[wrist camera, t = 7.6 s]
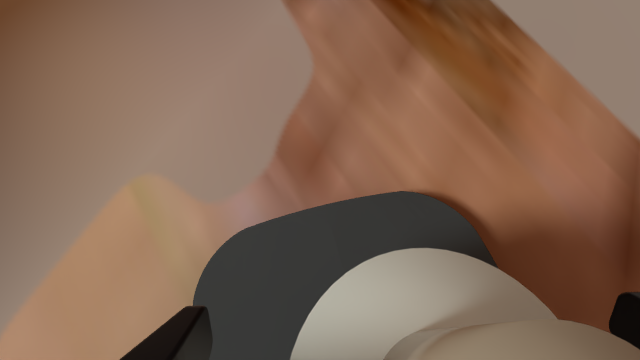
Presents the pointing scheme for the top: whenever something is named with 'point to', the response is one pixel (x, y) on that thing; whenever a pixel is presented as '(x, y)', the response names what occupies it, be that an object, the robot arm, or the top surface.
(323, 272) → the media streaming box
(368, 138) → the top surface
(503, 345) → the bottle
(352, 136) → the top surface
